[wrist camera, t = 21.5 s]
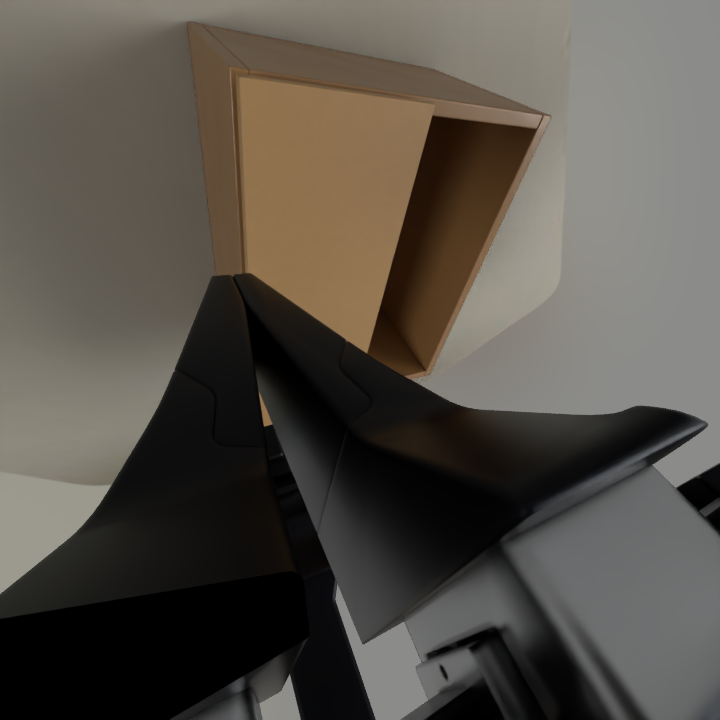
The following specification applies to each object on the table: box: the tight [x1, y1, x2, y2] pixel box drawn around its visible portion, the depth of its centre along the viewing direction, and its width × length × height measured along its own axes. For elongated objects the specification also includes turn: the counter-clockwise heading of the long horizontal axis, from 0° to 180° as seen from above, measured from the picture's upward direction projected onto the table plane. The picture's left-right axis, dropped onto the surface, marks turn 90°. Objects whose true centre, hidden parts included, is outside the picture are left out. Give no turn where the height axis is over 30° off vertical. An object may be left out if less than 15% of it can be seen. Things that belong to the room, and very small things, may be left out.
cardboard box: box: [187, 22, 551, 379], centre depth 19 cm, size 15×12×8 cm
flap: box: [236, 73, 435, 426], centre depth 15 cm, size 15×6×1 cm, turn 169°
